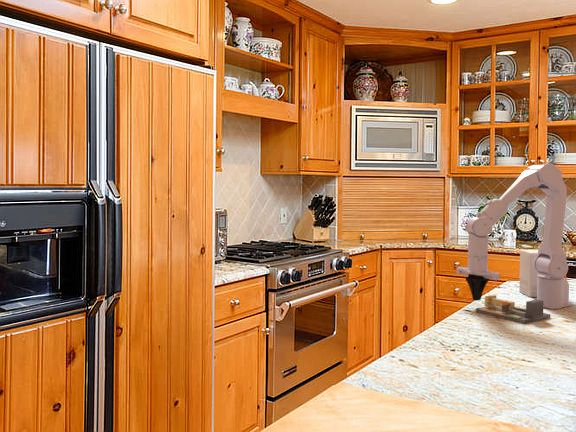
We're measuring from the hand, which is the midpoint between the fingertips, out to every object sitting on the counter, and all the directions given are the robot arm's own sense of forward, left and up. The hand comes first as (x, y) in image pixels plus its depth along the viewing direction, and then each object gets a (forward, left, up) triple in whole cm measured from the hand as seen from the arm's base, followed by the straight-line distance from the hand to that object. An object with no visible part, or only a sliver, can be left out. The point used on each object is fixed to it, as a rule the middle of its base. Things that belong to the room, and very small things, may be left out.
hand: (476, 299), depth 170 cm
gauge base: (0, +13, -2) cm, 13 cm away
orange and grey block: (+4, +13, -1) cm, 13 cm away
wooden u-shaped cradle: (+1, +8, -1) cm, 9 cm away
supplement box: (-32, 0, -2) cm, 32 cm away
